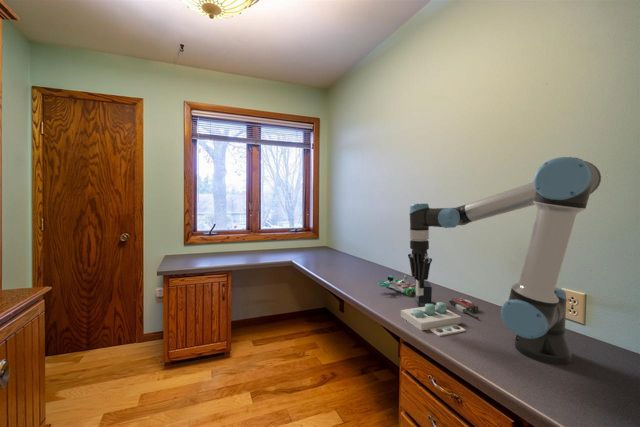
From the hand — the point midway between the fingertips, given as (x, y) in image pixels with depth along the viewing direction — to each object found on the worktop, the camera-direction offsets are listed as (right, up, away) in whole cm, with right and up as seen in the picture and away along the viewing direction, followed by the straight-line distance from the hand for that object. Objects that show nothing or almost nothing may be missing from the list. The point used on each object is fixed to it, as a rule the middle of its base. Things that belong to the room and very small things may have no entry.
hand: (419, 294), depth 118 cm
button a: (+11, -9, +5) cm, 15 cm away
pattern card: (+9, -12, -7) cm, 17 cm away
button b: (+6, -9, +3) cm, 11 cm away
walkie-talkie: (+27, -12, +13) cm, 33 cm away
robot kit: (+1, -11, +41) cm, 42 cm away
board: (+6, -12, +3) cm, 13 cm away
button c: (0, -11, +1) cm, 11 cm away
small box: (+10, -11, +22) cm, 27 cm away
